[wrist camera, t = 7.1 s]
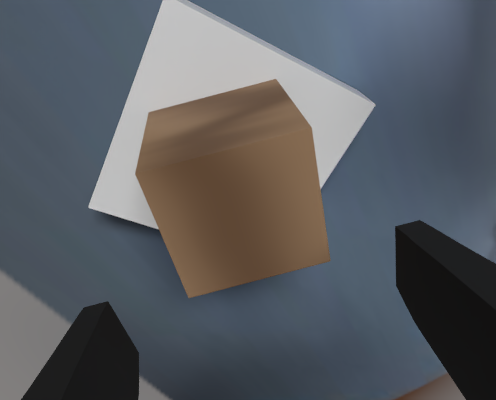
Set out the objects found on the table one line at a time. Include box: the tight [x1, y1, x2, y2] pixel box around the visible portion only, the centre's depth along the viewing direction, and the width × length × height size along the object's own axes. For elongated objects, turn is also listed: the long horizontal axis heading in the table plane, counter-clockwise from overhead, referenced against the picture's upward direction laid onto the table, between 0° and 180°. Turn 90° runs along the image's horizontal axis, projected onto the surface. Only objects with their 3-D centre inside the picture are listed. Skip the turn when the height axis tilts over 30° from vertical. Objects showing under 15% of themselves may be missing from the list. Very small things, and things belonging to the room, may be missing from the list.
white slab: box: [88, 0, 376, 229], centre depth 17 cm, size 9×9×2 cm
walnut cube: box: [135, 79, 330, 298], centre depth 14 cm, size 5×5×5 cm
